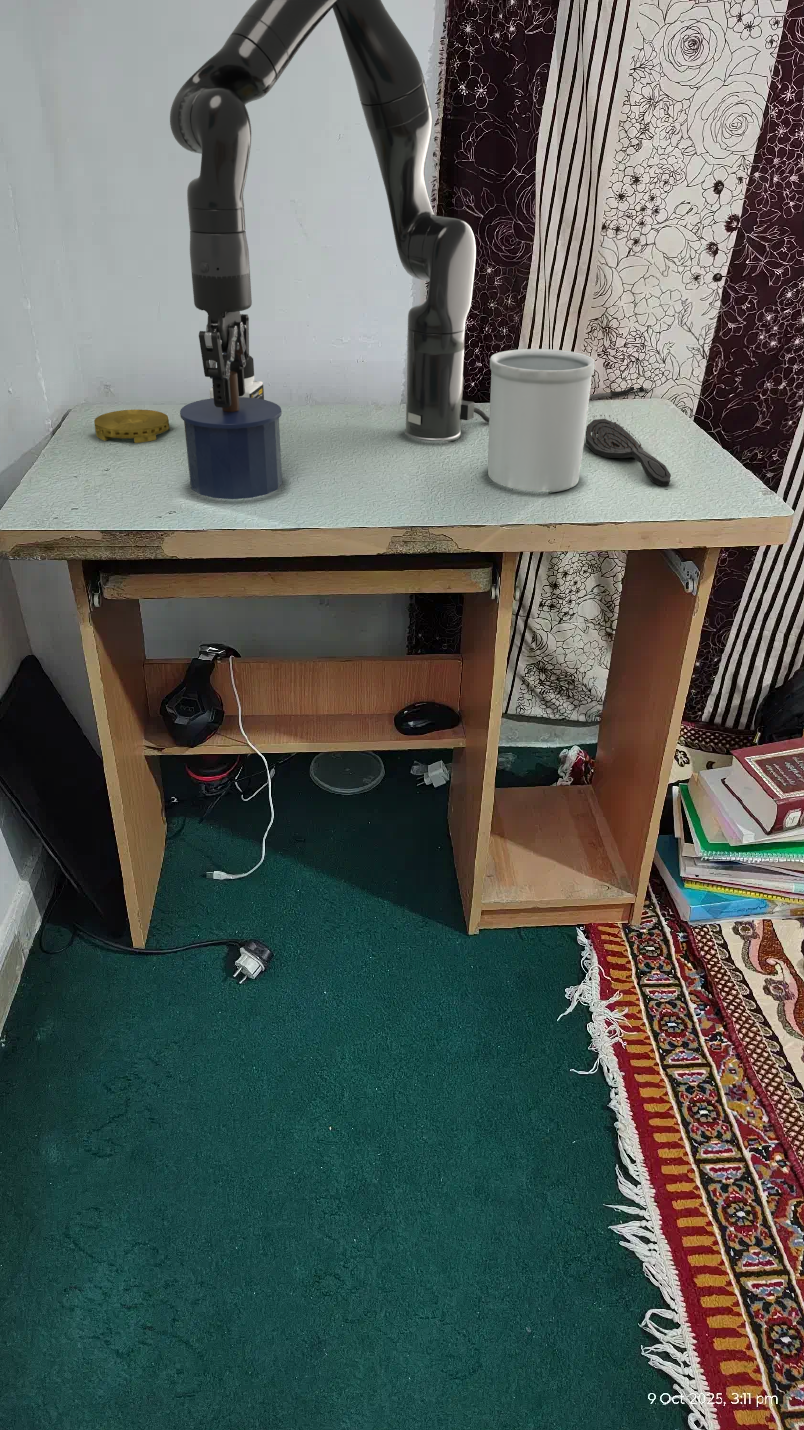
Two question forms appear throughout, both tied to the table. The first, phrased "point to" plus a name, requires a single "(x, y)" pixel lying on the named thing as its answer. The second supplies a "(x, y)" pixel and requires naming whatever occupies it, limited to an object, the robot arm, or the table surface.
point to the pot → (234, 460)
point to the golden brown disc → (131, 425)
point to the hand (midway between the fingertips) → (230, 400)
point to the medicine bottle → (249, 382)
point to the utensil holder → (538, 418)
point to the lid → (231, 411)
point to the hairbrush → (623, 448)
